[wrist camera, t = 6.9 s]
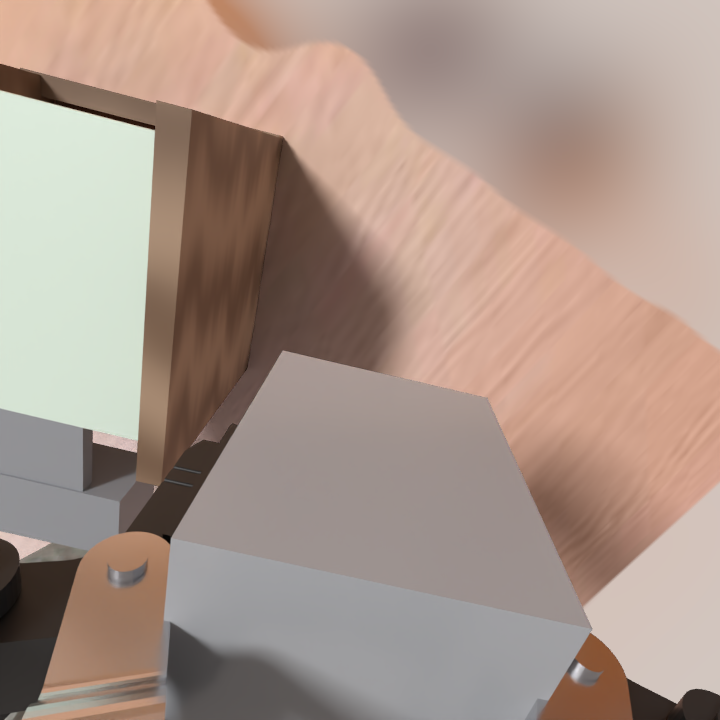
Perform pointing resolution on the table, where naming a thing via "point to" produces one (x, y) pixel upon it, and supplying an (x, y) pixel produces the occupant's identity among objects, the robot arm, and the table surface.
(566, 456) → the table surface
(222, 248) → the wooden bench shelf
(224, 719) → the gray block
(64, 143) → the trapdoor
